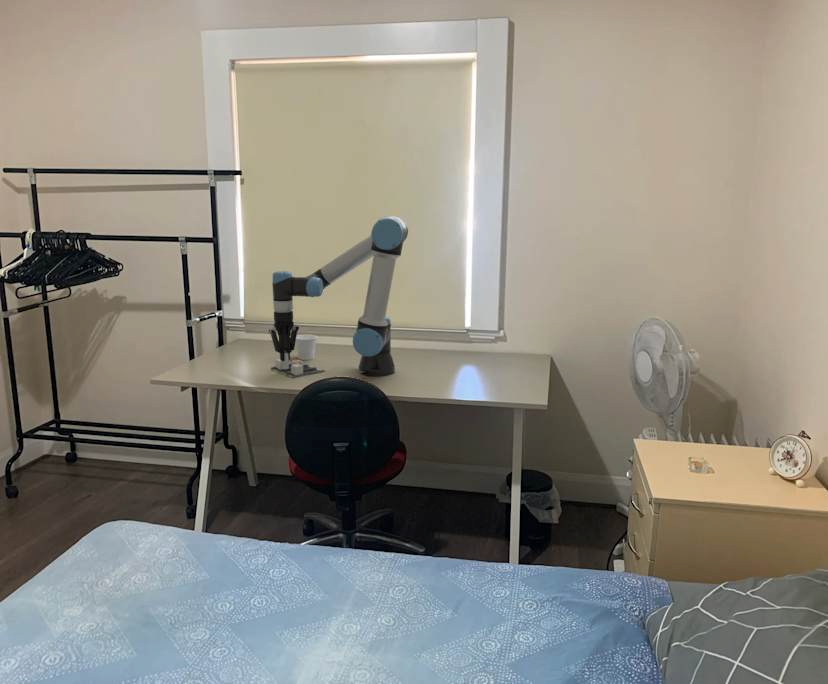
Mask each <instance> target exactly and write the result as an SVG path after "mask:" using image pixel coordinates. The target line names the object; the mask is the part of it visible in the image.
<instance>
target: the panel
mask: <svg viewBox="0 0 828 684" xmlns="http://www.w3.org/2000/svg"><path fill="white" fill-rule="evenodd" d="M291 365H292V362H291V363H289V369H277V368H276V365H275V366H271V368H269V370H270V371H273V372H275V373H278V374H280V375H283V376H286V377H288V378H290V379H296V378H300V377H306V376H310V375H315V374H320V373H321V374H322V373H325V372H327V370H324V369H321V368H318V367H316V366H313V365H310V364H307V363H304V362H303V374H300V375H293V374H291Z"/></svg>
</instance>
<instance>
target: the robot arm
mask: <svg viewBox="0 0 828 684" xmlns="http://www.w3.org/2000/svg"><path fill="white" fill-rule="evenodd" d="M370 233H371V234H370V235H368V236H367V237H365V238H364V239H363V240H361V241H359V242H358V243H356V244H355V245H354V246H352V247H350V248H349V249H348V250H345V252H343V253H342V254H340V255H338V256H337V257H335V258H334V259H332V260H331V261H330V262H328V263H326V264H325V265H324V266H322V267H320V268H319V269H318V270H316V271H314V272H313V273H311V274H310V275H306V276H305V277H303V276H297V277H296V276H293V273H292V272H291V271H288V270H284V271H282V270H280V271H279V270H278V271H274V272H273V273H272V283H271V284H272V301H273V320H274V324H273V327H272V328H271V329H270V328H269V329H268V332H269V334H270V337H271V340H272V344H273V348H274V351H275V352H276V353H279V359H280V360H281V361H282V368H283V369H289V364H290V363H289V361H290V360H291V353H292V351H294V350H295V347H296V336H298V331H299V329H300V327H299V326H298V325H295V323H294V311H293V310H294V303H293V301H294V300H293V297H307V298H309V297H310V298H316V297H317V298H319V297H322V294H323V291H324V289H326V287H328V286H330V285H331V284H333V283H334V282H336V281H337V280H339V279H340V278H342V277H344V276H345V275H346V274H348V273H349V272H351V271H352V270H354V269H356V268H357V267H359V266H361V265H362V264H364V263H365V262H366V261H368V260H370V259H371V258H372V263H371V268H370V269H371V270H370V275H369V280H368V281H369V282H368V285H367V292H366V295H365V296H366V297H365V304H364V309H363V314H362V315H361V316H360V317H359V318H358V319H357V326H356V330H355V331H356V332H355V333H353V334H354V335H353V336H352V346H353V348H354V350H355V352H356V353H357V354H359V355H360V356H361V358H360V361H359V365H358V371H361V372H360V374H361V375H365V376H371V377H374V376H375V377H376V376H377V377H378V376H379V377H380V376H389V375H391V374H394V373H395V372H396V367H395V366H396V365H395V363H394V362H395V361H394V360H393V356H392V353H391V351H392V350H391V348H392V347H391V342H392V337H391V333H392V329H391V327H392V323H391V319H390V318H389V317H387V316H386V314H387V310H388V304H389V299H390V295H391V294H390V293H391V288H392V283H393V277H394V272H395V266H396V261H397V259H398V258H399V257H401V255H402V250H403V244H404V242H405V241H406V239H407V238H408V235H409V228H408V225H407V223H406V221H405V220H404V219H403V218H401V217H399V216H396V215H390V216H384V217H381V218H379V219H378V220H377V221H376V222H375V223H374V224H373V227H372V229H371V232H370Z"/></svg>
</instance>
